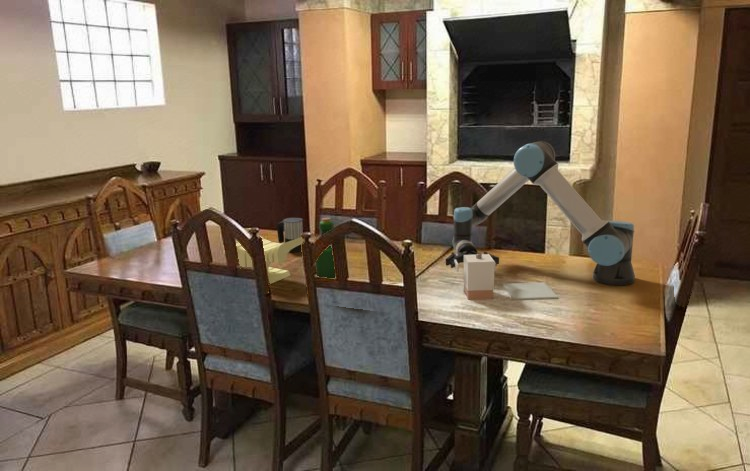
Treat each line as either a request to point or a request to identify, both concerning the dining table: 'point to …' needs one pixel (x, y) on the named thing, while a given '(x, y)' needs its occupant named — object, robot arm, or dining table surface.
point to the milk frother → (290, 231)
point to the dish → (478, 294)
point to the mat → (529, 291)
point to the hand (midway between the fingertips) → (476, 267)
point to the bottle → (325, 253)
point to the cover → (478, 272)
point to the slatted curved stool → (269, 256)
